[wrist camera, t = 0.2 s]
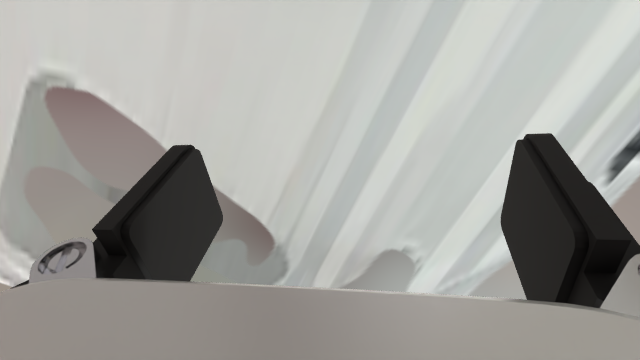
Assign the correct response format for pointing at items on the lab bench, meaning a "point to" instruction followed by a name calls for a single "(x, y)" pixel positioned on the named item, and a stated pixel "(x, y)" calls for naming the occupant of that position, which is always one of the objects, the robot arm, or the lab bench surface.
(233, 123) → the lab bench surface
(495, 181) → the lab bench surface
